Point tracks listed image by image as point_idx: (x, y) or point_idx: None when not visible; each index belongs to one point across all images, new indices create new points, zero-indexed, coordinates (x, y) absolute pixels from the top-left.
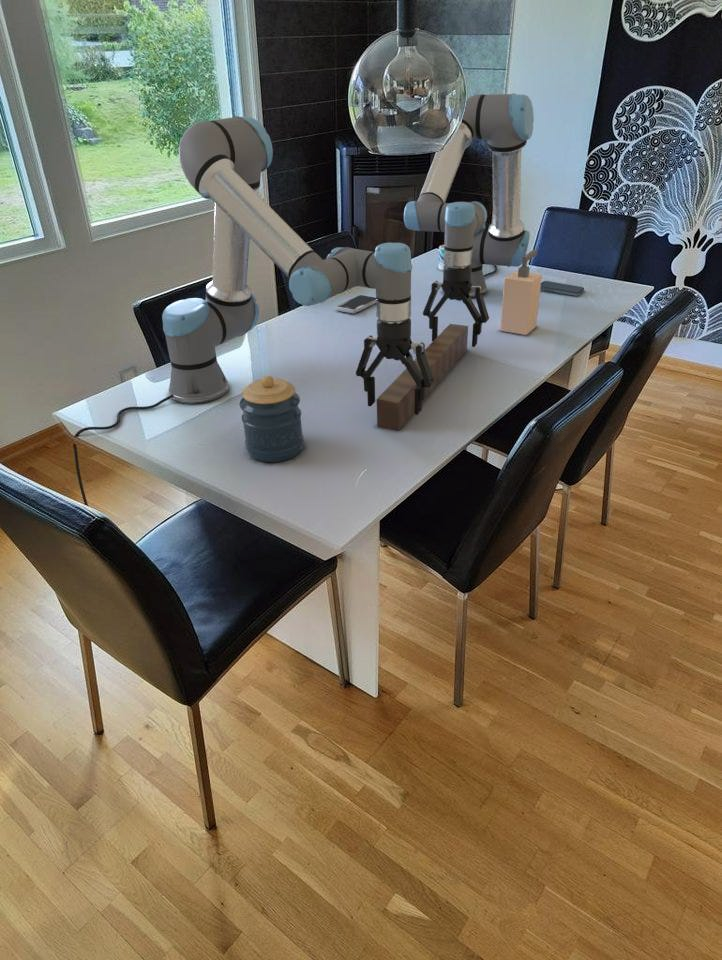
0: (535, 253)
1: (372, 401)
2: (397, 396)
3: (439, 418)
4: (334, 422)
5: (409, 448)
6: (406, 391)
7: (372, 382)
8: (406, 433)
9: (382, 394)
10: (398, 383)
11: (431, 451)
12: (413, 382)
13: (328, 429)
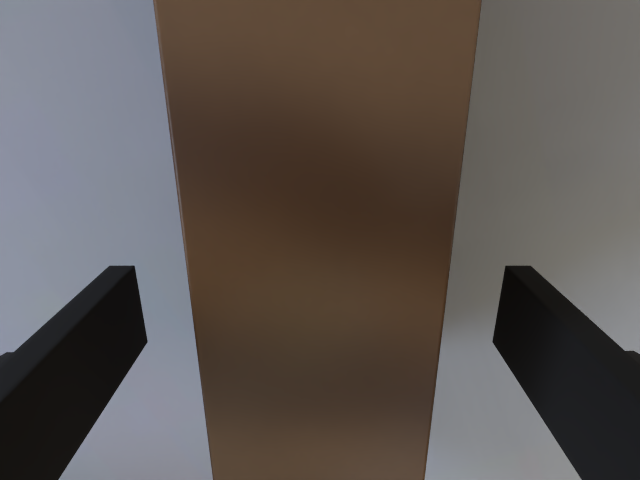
0: None
1: (132, 328)
2: (372, 426)
3: (593, 120)
4: None
5: (487, 463)
6: (425, 312)
7: (23, 450)
8: None
9: (221, 438)
10: (254, 148)
11: None
12: (434, 39)
13: None
